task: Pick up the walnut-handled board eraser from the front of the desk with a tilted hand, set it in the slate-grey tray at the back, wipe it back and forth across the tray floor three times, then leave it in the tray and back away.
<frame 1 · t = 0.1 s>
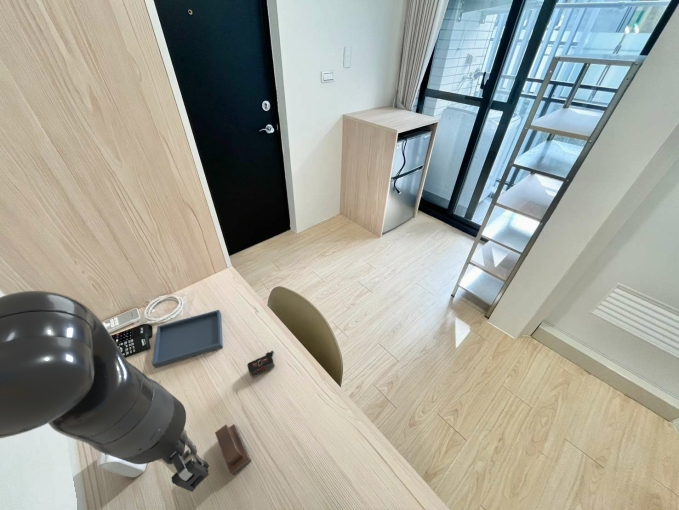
hand: (189, 448, 43), 20 cm above the table, tool pointing down, fingers open, 8 cm apart
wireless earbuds: (264, 365, 73), on the table
eraser: (235, 449, 59), on the table
photo printer: (142, 448, 59), on the table
tray: (190, 338, 78), on the table
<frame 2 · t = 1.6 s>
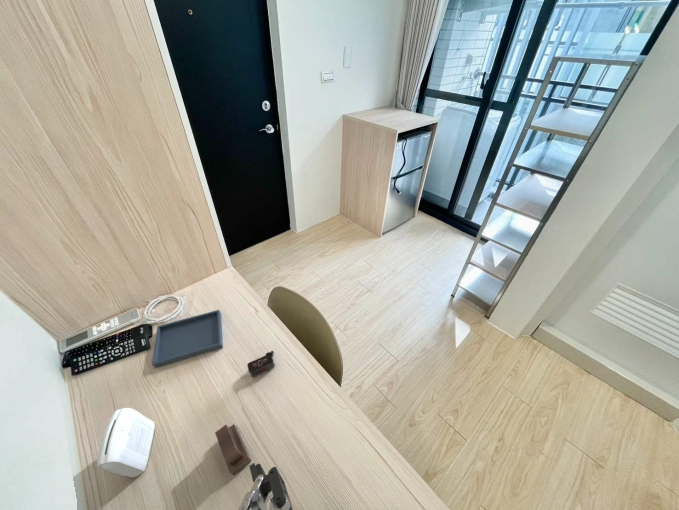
hand: (225, 493, 37), 23 cm above the table, tool tilted 45°, fingers open, 8 cm apart
nothing on the table moved.
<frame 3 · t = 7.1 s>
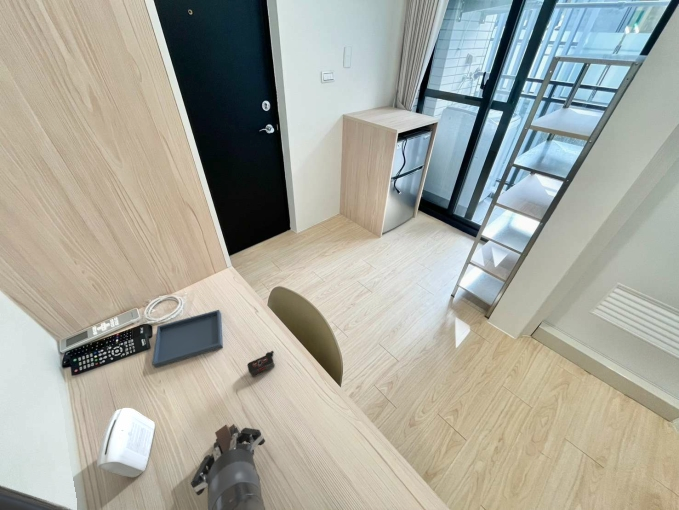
hand: (226, 436, 58), 4 cm above the table, tool tilted 45°, fingers closed on eraser, 2 cm apart
eraser: (235, 449, 59), on the table, touching gripper
everything else where it was.
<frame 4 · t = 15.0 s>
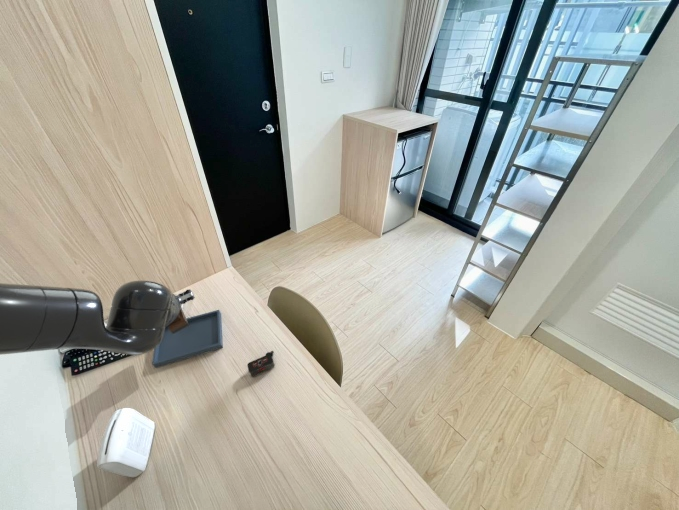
hand: (168, 305, 70), 14 cm above the table, tool tilted 45°, fingers closed on eraser, 2 cm apart
eraser: (176, 319, 71), point 10 cm above the table, touching gripper
everything else where it was.
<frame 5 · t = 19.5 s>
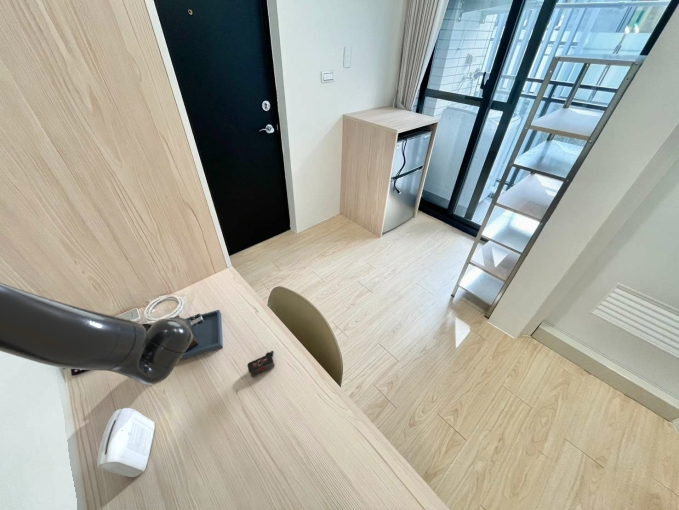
hand: (179, 326, 76), 4 cm above the table, tool tilted 45°, fingers closed on eraser, 2 cm apart
eraser: (187, 338, 78), point 1 cm above the table, touching gripper, tray
everything else where it was.
when the fingers open (4 cm above the table, at t = 23.1 s): eraser stays where it is, resting on tray.
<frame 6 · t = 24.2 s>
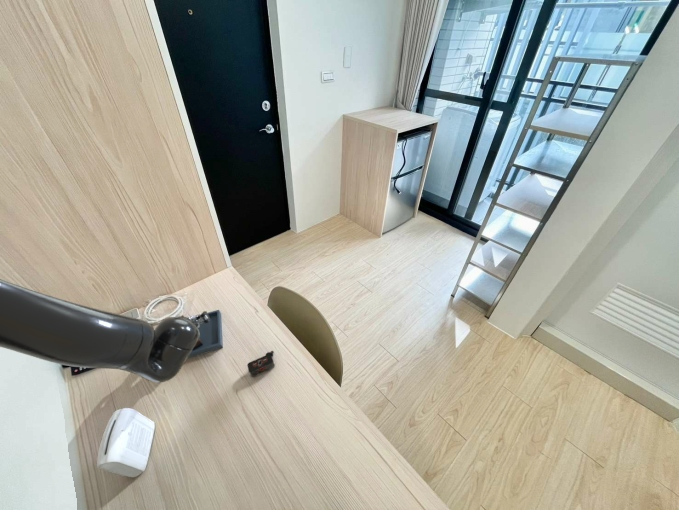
hand: (182, 326, 75), 5 cm above the table, tool tilted 45°, fingers open, 8 cm apart
eraser: (191, 338, 78), point 1 cm above the table, touching tray
everything else where it was.
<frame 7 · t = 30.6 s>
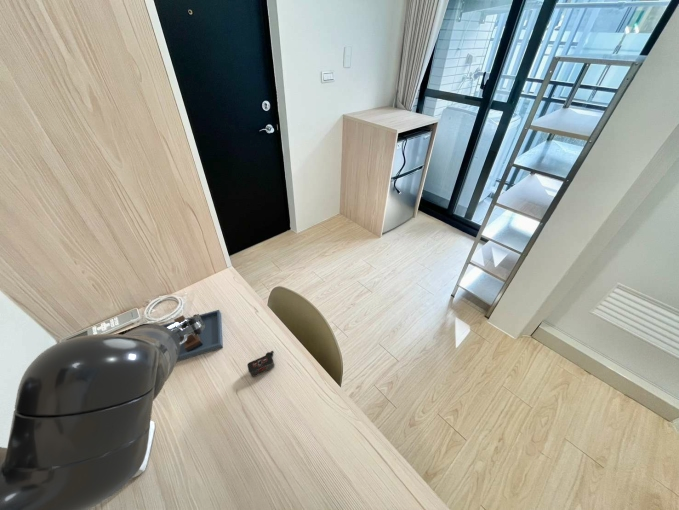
hand: (161, 338, 47), 29 cm above the table, tool tilted 45°, fingers open, 8 cm apart
nothing on the table moved.
at the end: eraser inside the target area in the tray (0.6 cm from its centre), point 0.6 cm above the tray's base; the gripper is holding nothing; eraser moved 33.0 cm from its start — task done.
